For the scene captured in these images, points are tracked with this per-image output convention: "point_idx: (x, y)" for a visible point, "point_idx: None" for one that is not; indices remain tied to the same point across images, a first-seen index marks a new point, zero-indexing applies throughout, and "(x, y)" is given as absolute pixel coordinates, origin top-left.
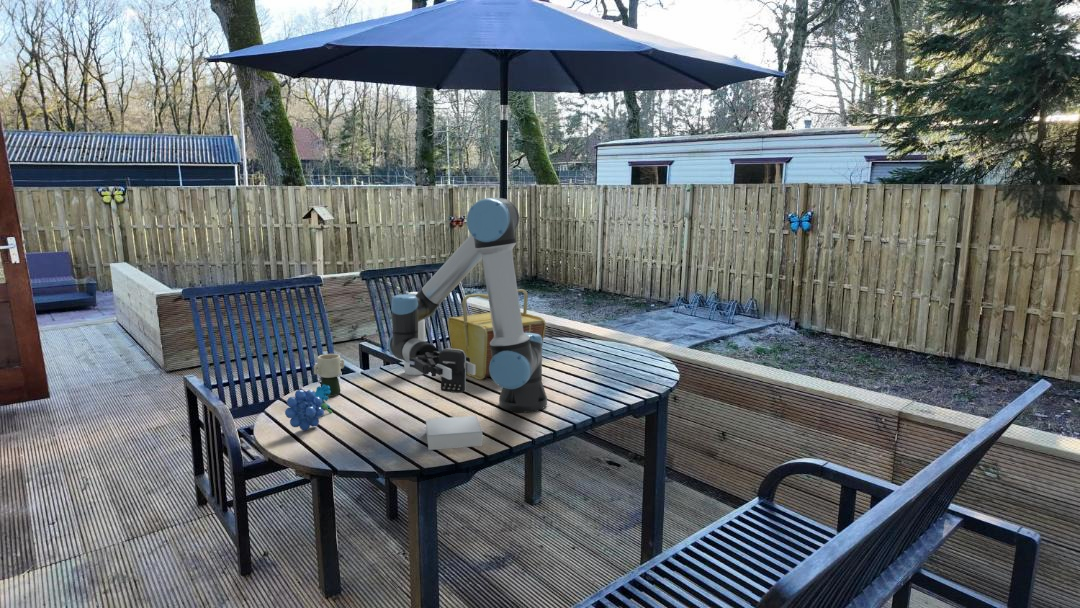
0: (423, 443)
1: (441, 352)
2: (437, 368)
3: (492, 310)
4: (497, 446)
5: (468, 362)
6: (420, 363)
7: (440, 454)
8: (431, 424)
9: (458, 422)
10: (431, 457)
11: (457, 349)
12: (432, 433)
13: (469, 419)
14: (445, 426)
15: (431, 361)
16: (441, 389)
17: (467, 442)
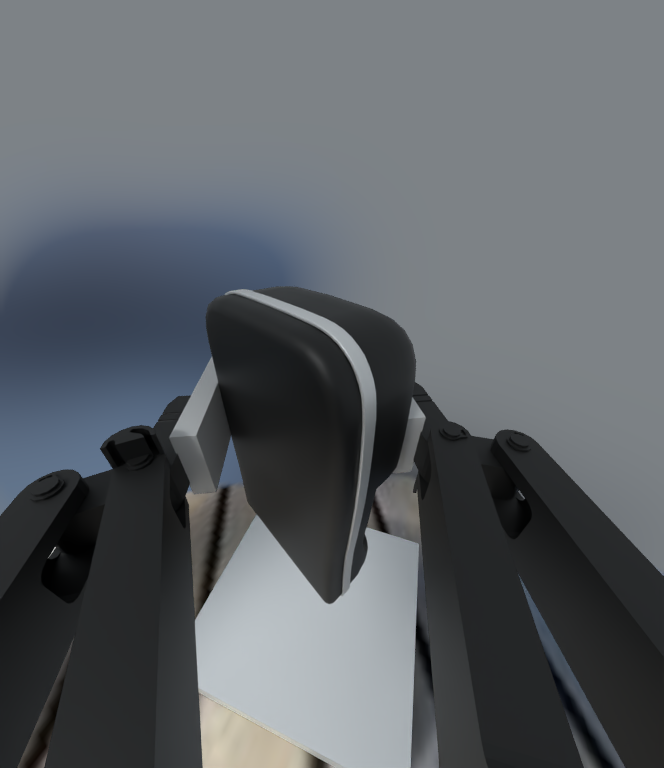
0: (421, 638)
1: (398, 325)
2: (421, 396)
3: None
4: (245, 499)
5: (209, 375)
6: (608, 524)
7: (384, 522)
8: (392, 662)
9: (283, 617)
10: (408, 516)
11: (253, 292)
12: (404, 551)
13: (227, 629)
14: (345, 597)
15: (476, 528)
16: (366, 542)
17: None
